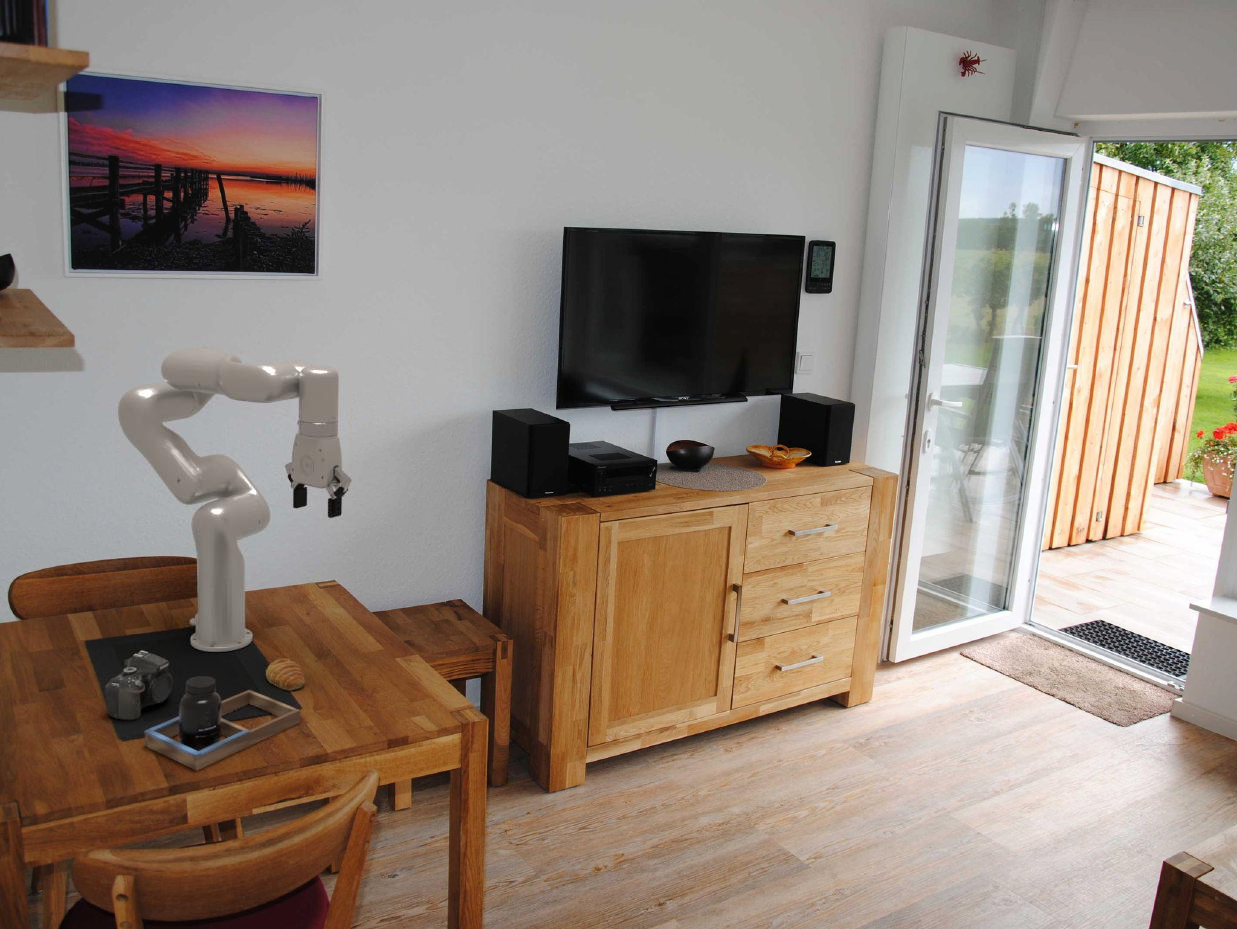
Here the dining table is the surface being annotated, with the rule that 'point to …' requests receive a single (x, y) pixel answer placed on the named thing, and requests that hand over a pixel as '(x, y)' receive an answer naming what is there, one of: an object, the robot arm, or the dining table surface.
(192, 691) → the supplement bottle
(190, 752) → the caddy
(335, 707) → the dining table surface
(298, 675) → the pastry
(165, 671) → the camera
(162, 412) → the robot arm
